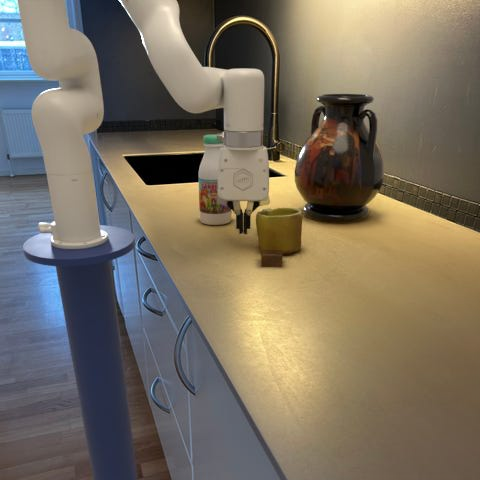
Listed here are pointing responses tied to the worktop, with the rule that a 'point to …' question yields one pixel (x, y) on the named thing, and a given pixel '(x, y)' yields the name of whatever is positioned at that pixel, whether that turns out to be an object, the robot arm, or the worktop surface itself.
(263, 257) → the block
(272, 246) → the mug
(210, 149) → the milk bottle
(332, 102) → the amphora vase
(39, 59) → the robot arm
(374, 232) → the worktop surface
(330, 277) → the worktop surface
